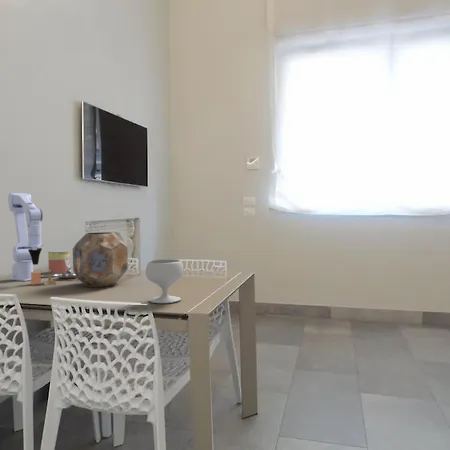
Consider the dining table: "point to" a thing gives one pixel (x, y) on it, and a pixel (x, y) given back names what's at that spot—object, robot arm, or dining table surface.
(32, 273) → the hook rod
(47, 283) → the eye post
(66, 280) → the wheel mount
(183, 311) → the dining table surface
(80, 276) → the planter
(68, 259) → the canned food
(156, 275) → the chalice
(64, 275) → the handwheel
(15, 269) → the robot arm
